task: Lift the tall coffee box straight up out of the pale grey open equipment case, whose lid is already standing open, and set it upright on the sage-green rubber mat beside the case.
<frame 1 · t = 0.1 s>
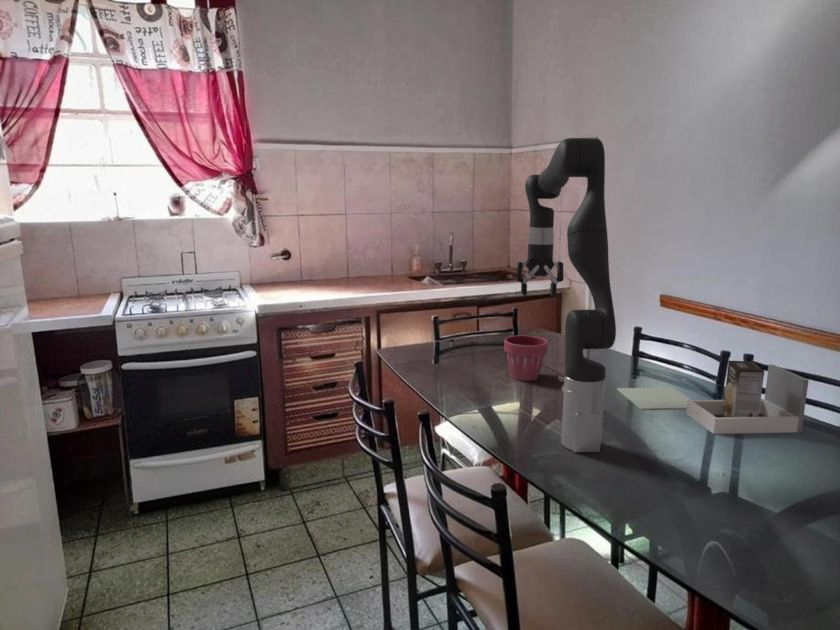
hand: (538, 295, 181), 29 cm above the table, fingers open, 8 cm apart
case: (739, 422, 157), on the table
mat: (657, 398, 176), on the table
coffee box: (739, 423, 157), resting in case
pliers: (571, 387, 188), on the table
plant pot: (524, 377, 197), on the table
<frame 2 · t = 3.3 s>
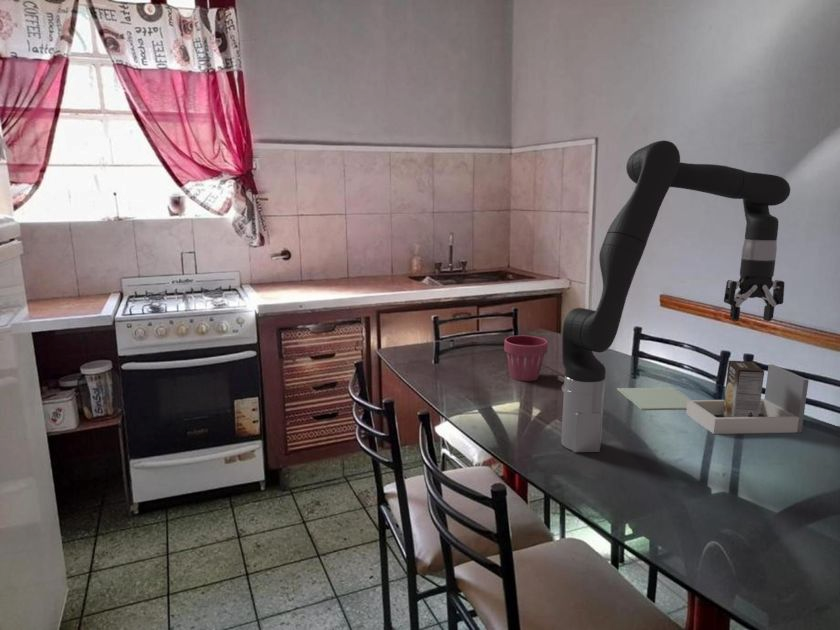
hand: (751, 320, 152), 28 cm above the table, fingers open, 8 cm apart
nothing on the table moved.
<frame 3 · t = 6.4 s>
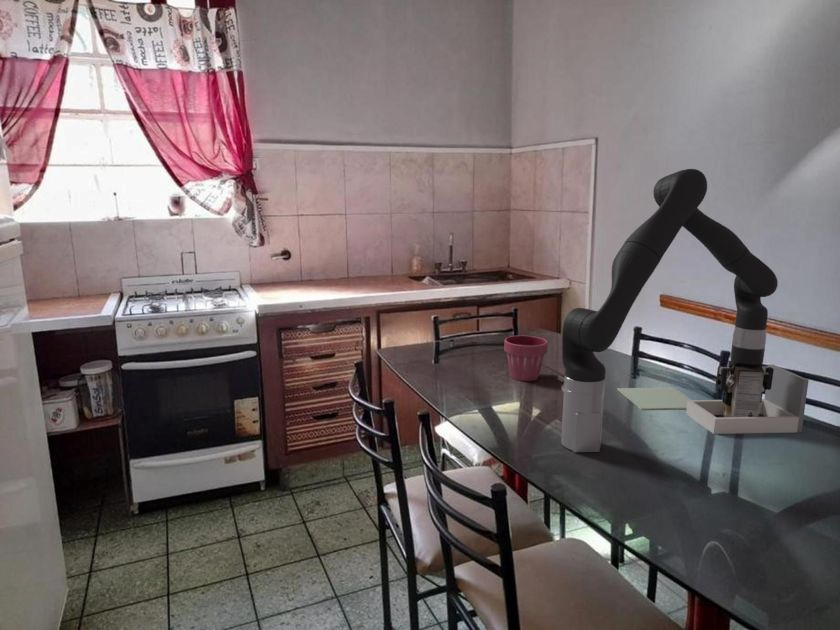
hand: (741, 404, 156), 5 cm above the table, fingers closed on coffee box, 7 cm apart
coffee box: (739, 423, 157), resting in case, touching gripper
everything else where it was.
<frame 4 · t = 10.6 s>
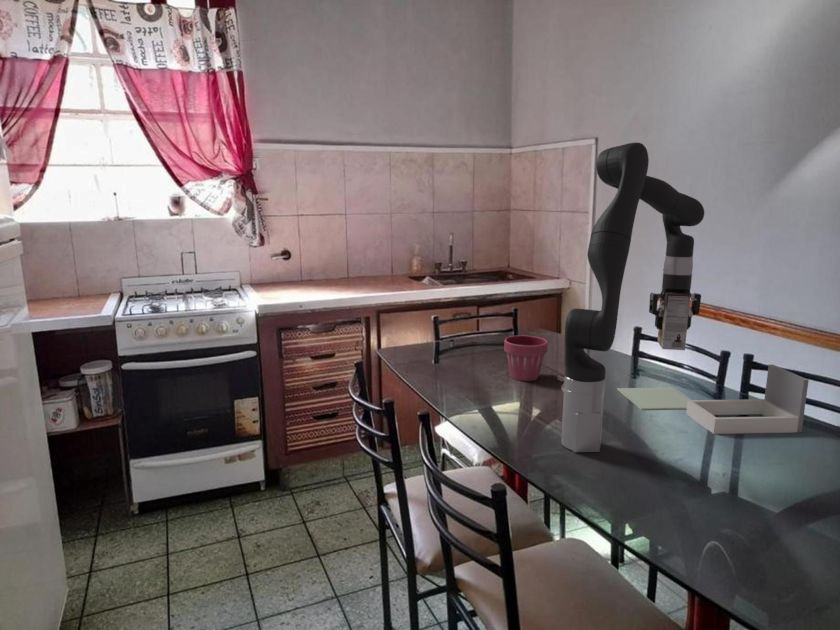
hand: (672, 329, 170), 22 cm above the table, fingers closed on coffee box, 7 cm apart
coffee box: (670, 346, 171), point 16 cm above the table, touching gripper
everything else where it was.
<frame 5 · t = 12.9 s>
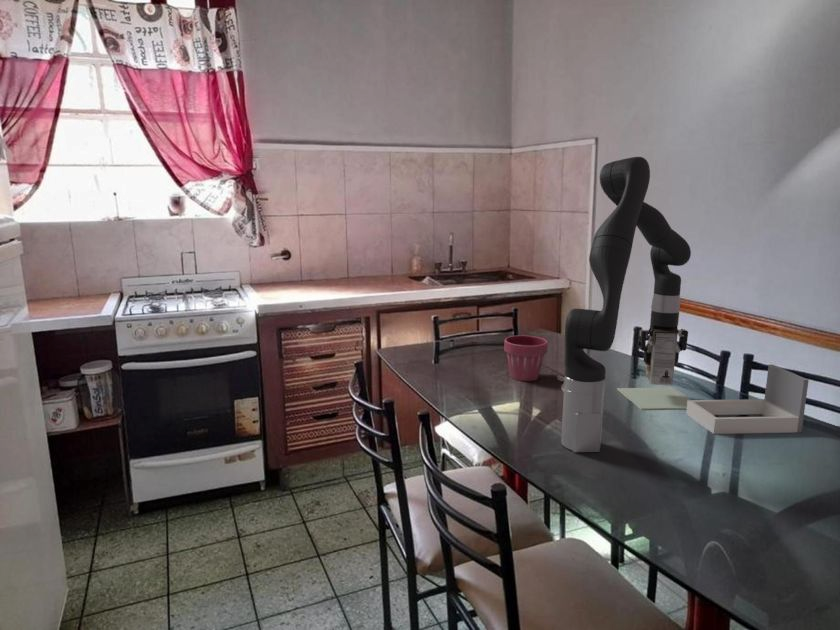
hand: (660, 364, 174), 11 cm above the table, fingers closed on coffee box, 7 cm apart
coffee box: (658, 381, 175), point 5 cm above the table, touching gripper
everything else where it was.
when the fingers open (7 cm above the table, at t = 14.8 s): coffee box drops 1 cm, resting on mat.
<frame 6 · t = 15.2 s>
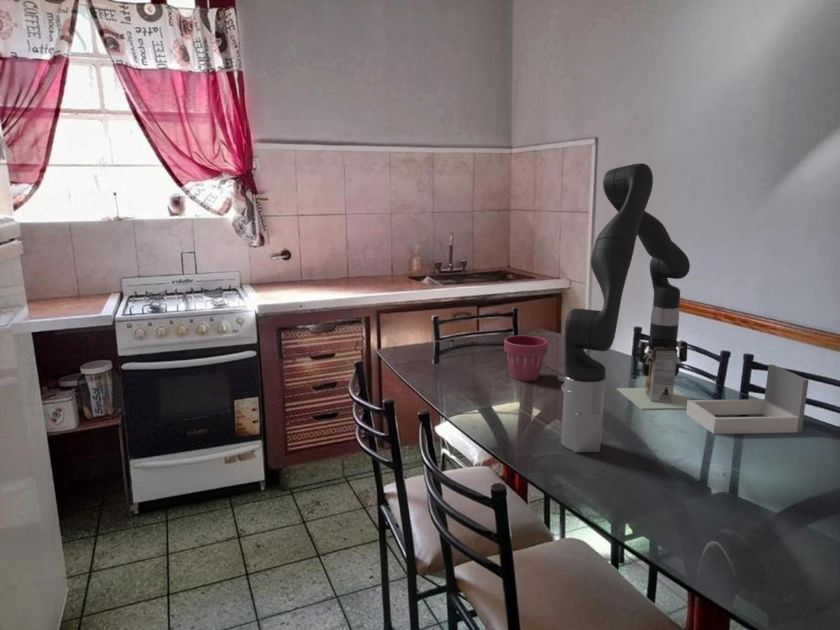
hand: (659, 375, 175), 7 cm above the table, fingers open, 8 cm apart
coffee box: (658, 397, 176), resting on mat
everything else where it was.
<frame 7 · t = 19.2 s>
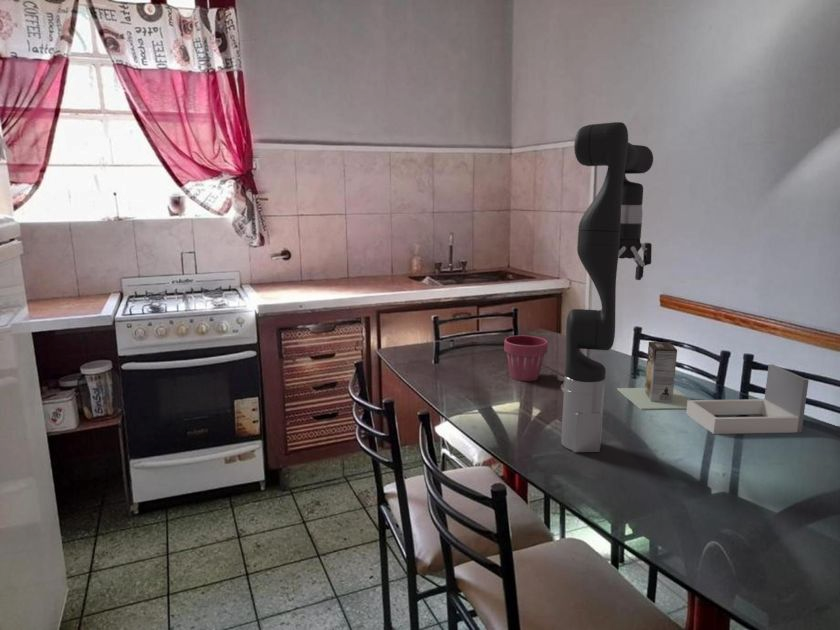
hand: (623, 279, 166), 36 cm above the table, fingers open, 8 cm apart
nothing on the table moved.
at the end: coffee box inside the target area on the mat (0.1 cm from its centre), point 0.2 cm above the mat's base; coffee box tilted 0°; the gripper is holding nothing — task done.
